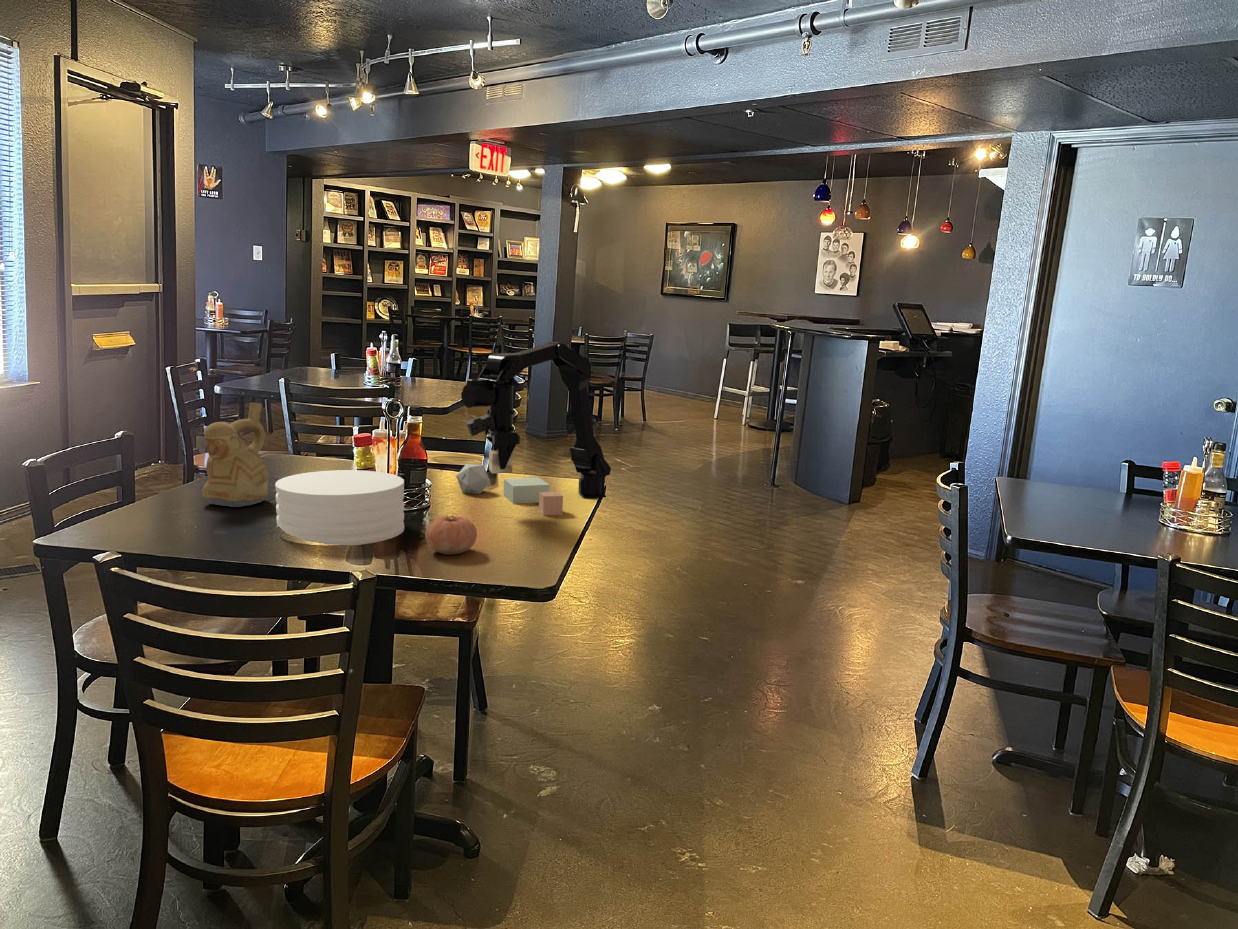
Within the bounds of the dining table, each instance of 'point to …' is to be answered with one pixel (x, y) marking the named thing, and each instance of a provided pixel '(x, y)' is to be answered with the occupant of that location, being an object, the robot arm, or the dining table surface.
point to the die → (473, 478)
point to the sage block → (524, 489)
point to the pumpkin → (451, 535)
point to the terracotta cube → (550, 503)
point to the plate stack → (341, 506)
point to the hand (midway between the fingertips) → (500, 467)
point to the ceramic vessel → (236, 460)
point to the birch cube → (494, 463)
